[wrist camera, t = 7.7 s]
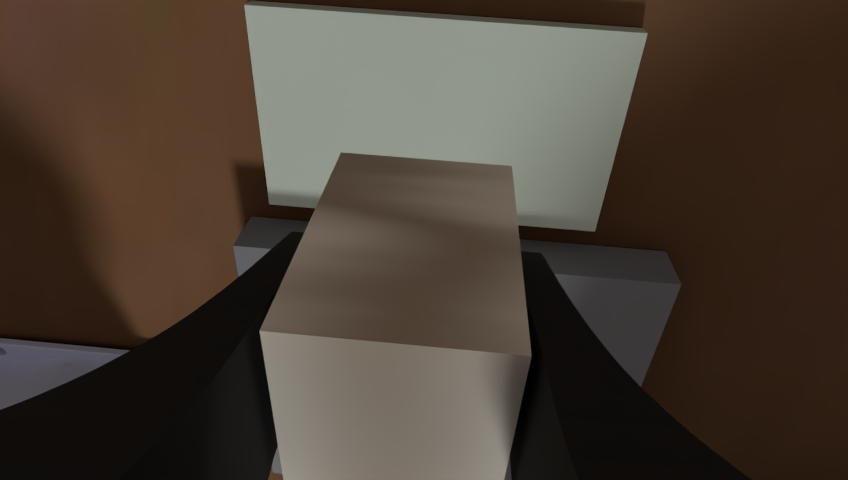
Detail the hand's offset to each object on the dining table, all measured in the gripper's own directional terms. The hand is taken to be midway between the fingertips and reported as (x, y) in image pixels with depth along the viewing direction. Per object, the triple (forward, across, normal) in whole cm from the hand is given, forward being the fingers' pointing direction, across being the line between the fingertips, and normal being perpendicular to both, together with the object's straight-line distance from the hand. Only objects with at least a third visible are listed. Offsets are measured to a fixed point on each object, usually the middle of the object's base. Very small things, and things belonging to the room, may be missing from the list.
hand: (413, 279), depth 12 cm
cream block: (+2, 0, 0) cm, 2 cm away
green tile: (+9, 0, 0) cm, 9 cm away
